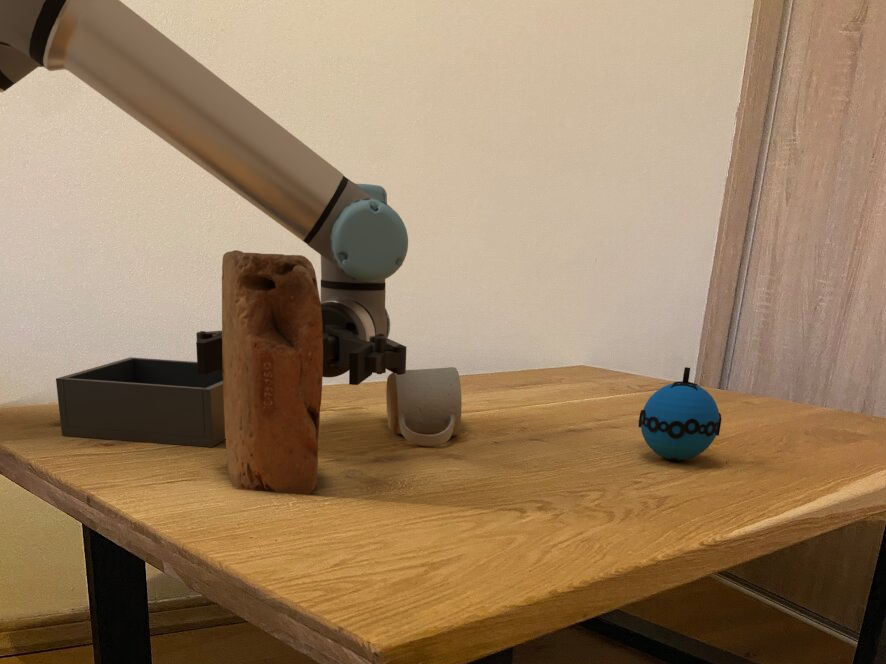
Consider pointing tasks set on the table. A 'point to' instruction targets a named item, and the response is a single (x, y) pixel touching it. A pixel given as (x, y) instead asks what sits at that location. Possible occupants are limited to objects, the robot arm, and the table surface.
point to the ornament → (680, 420)
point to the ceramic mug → (425, 405)
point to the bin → (144, 403)
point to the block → (271, 371)
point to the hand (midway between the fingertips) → (276, 363)
